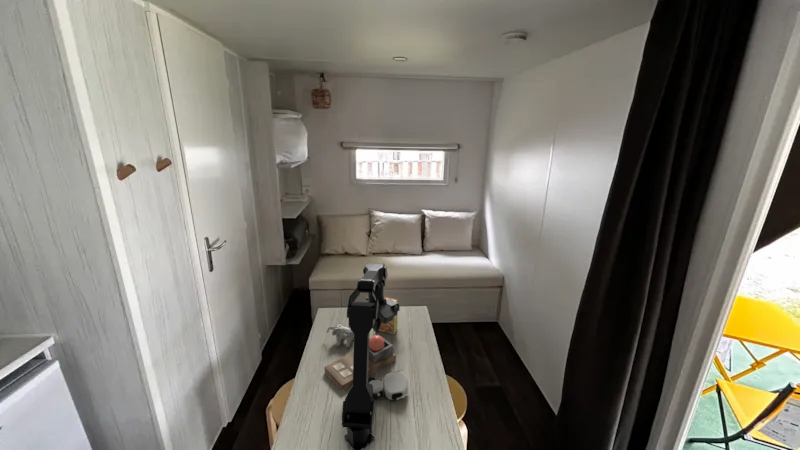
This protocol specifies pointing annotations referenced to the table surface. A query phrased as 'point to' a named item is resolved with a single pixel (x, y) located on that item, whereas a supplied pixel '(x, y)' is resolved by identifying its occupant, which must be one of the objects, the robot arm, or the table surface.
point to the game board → (343, 367)
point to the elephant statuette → (342, 334)
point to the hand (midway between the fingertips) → (376, 332)
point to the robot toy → (390, 386)
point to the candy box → (390, 322)
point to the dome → (376, 343)
